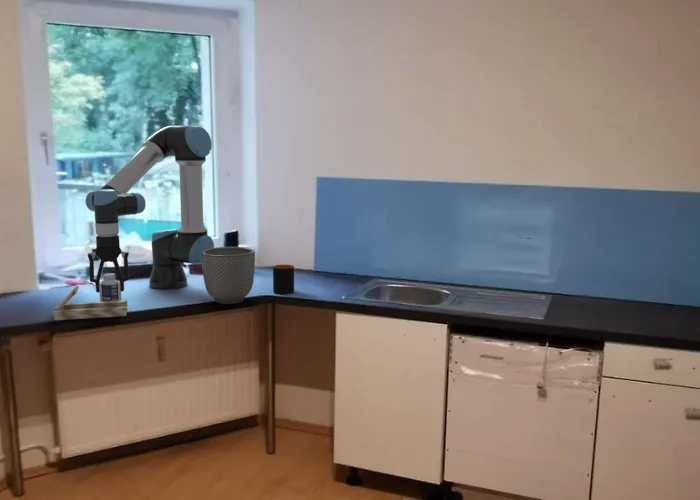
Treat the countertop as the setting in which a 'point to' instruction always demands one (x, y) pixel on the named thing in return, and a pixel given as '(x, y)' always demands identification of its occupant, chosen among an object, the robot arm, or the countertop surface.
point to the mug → (283, 279)
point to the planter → (228, 273)
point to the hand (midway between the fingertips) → (110, 300)
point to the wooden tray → (90, 310)
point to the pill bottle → (110, 288)
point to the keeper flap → (69, 296)
